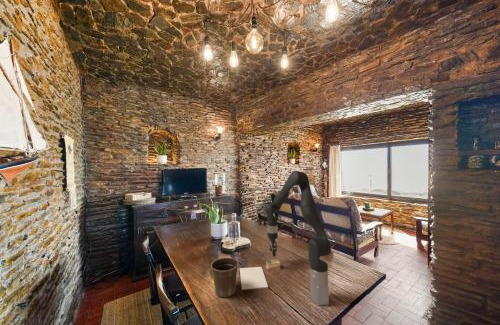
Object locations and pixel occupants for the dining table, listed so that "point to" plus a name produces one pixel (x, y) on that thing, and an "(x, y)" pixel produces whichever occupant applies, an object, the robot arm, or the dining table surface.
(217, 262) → the plant pot
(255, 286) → the felt mat
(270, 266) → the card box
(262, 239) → the dining table surface
